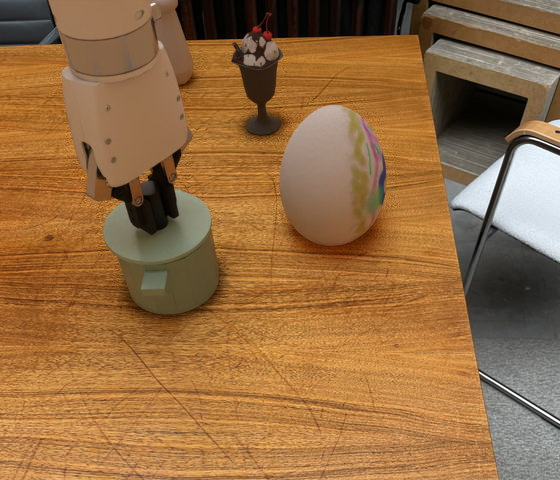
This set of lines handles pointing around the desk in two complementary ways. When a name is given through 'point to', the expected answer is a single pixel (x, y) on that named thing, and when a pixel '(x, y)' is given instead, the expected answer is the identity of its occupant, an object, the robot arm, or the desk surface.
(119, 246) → the lid
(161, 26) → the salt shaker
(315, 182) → the decorative egg
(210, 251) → the pot
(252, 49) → the sundae
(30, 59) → the desk surface
